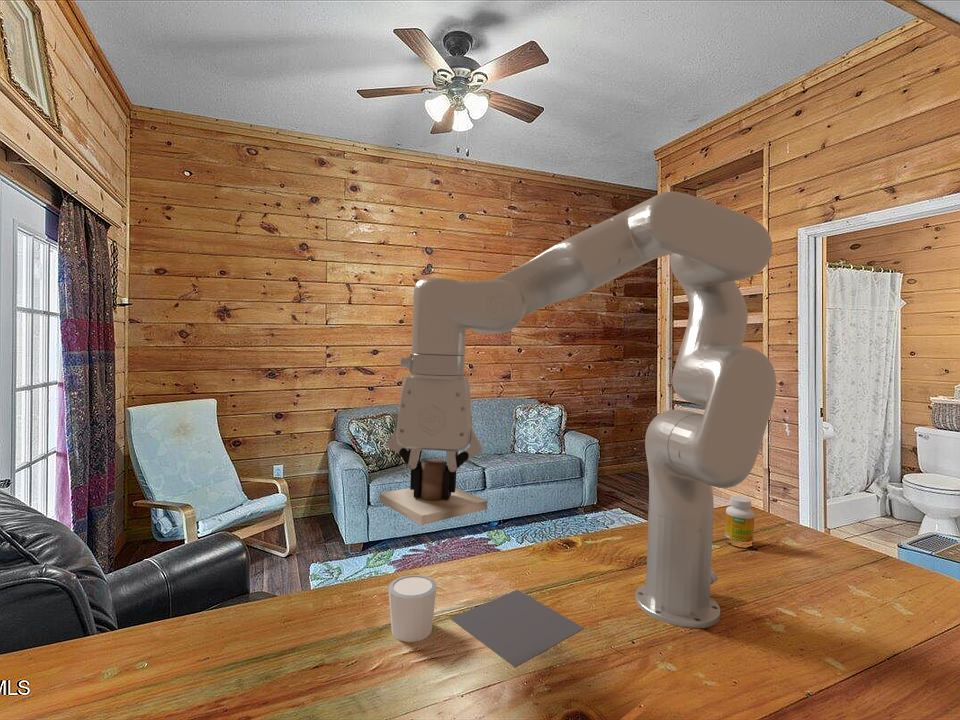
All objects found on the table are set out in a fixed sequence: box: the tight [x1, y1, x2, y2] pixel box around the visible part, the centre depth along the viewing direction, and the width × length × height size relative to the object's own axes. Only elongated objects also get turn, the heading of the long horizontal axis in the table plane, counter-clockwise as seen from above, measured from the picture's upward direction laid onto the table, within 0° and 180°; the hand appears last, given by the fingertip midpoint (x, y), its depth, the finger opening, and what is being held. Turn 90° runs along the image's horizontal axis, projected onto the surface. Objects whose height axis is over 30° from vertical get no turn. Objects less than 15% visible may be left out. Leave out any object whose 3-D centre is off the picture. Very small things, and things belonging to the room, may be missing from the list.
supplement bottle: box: [724, 495, 755, 542], centre depth 105 cm, size 5×5×10 cm
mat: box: [449, 589, 585, 668], centre depth 73 cm, size 14×14×1 cm
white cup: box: [387, 574, 437, 643], centre depth 71 cm, size 7×7×7 cm
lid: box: [378, 458, 488, 526], centre depth 70 cm, size 11×11×6 cm
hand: (432, 494), depth 70 cm, fingers closed on lid, 3 cm apart
